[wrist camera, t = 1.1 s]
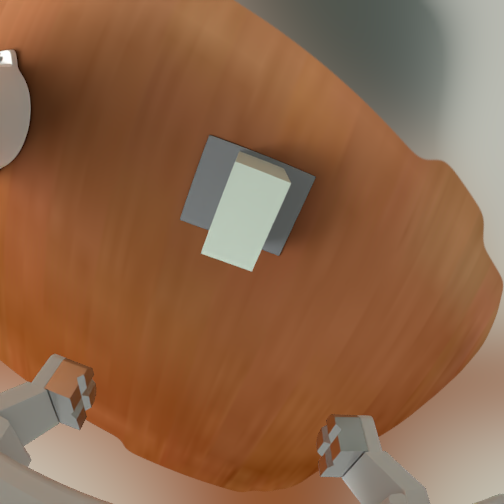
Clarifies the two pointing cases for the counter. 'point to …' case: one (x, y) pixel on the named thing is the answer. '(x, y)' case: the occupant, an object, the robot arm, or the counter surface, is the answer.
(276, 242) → the card
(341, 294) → the counter surface
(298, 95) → the counter surface
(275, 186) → the sage block
